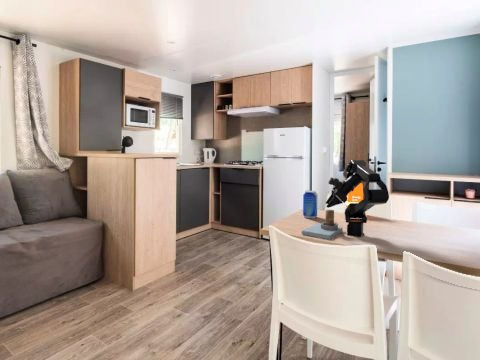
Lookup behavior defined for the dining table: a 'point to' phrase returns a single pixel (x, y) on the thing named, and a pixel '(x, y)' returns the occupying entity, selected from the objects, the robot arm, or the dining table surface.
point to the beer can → (310, 204)
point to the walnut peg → (329, 218)
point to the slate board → (323, 231)
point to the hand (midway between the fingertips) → (326, 205)
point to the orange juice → (355, 195)
